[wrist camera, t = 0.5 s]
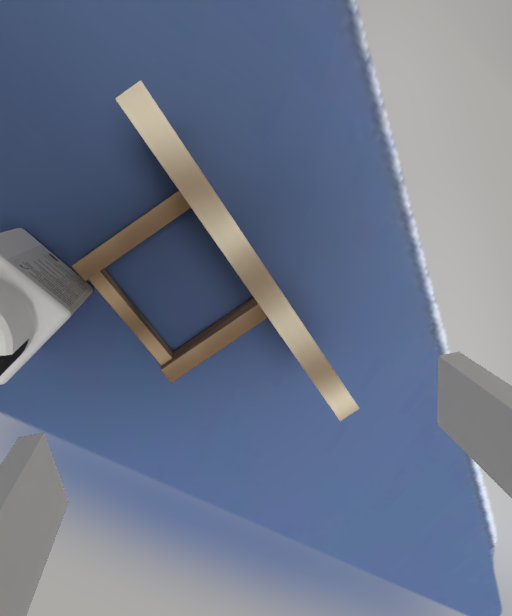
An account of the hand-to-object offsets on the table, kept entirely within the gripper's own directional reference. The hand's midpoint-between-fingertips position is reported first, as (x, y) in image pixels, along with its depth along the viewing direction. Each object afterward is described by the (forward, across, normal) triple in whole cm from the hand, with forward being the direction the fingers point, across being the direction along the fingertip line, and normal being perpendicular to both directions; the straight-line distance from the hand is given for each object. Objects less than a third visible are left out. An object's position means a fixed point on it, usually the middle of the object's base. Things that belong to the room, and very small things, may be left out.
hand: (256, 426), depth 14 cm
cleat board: (+25, -3, -1) cm, 25 cm away
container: (+26, -16, +1) cm, 30 cm away
